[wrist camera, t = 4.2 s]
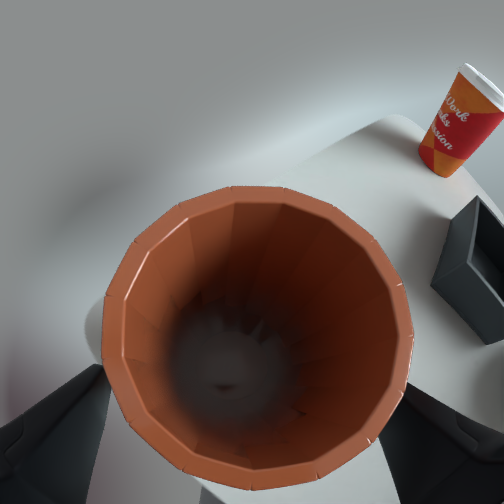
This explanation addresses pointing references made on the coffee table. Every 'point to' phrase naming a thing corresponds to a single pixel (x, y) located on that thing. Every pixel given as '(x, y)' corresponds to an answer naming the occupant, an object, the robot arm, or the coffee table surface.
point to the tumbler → (256, 337)
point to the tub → (474, 270)
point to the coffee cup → (462, 121)
